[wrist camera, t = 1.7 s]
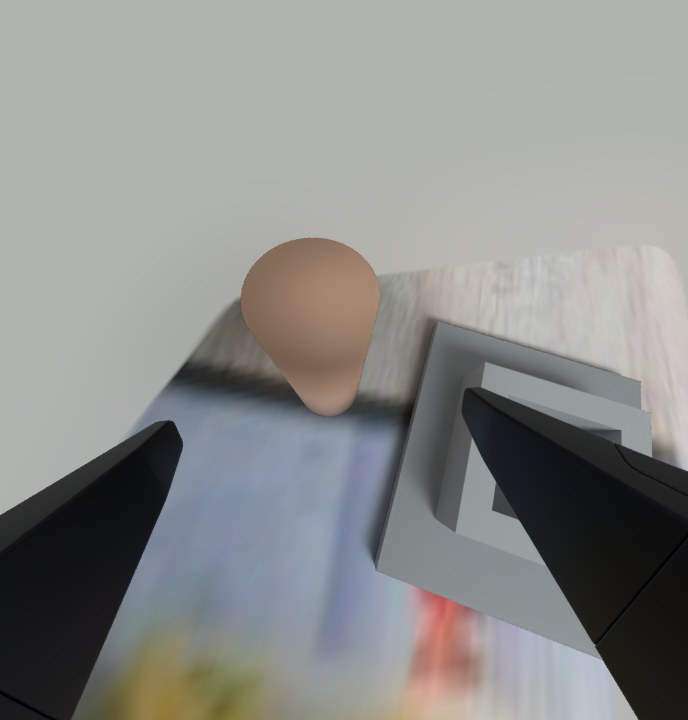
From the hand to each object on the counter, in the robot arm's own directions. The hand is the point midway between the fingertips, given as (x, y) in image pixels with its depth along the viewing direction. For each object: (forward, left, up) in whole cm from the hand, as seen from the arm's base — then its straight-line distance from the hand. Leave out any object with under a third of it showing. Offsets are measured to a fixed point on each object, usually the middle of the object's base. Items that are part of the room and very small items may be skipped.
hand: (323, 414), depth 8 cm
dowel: (+3, +1, -10) cm, 11 cm away
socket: (+2, -12, -10) cm, 16 cm away
